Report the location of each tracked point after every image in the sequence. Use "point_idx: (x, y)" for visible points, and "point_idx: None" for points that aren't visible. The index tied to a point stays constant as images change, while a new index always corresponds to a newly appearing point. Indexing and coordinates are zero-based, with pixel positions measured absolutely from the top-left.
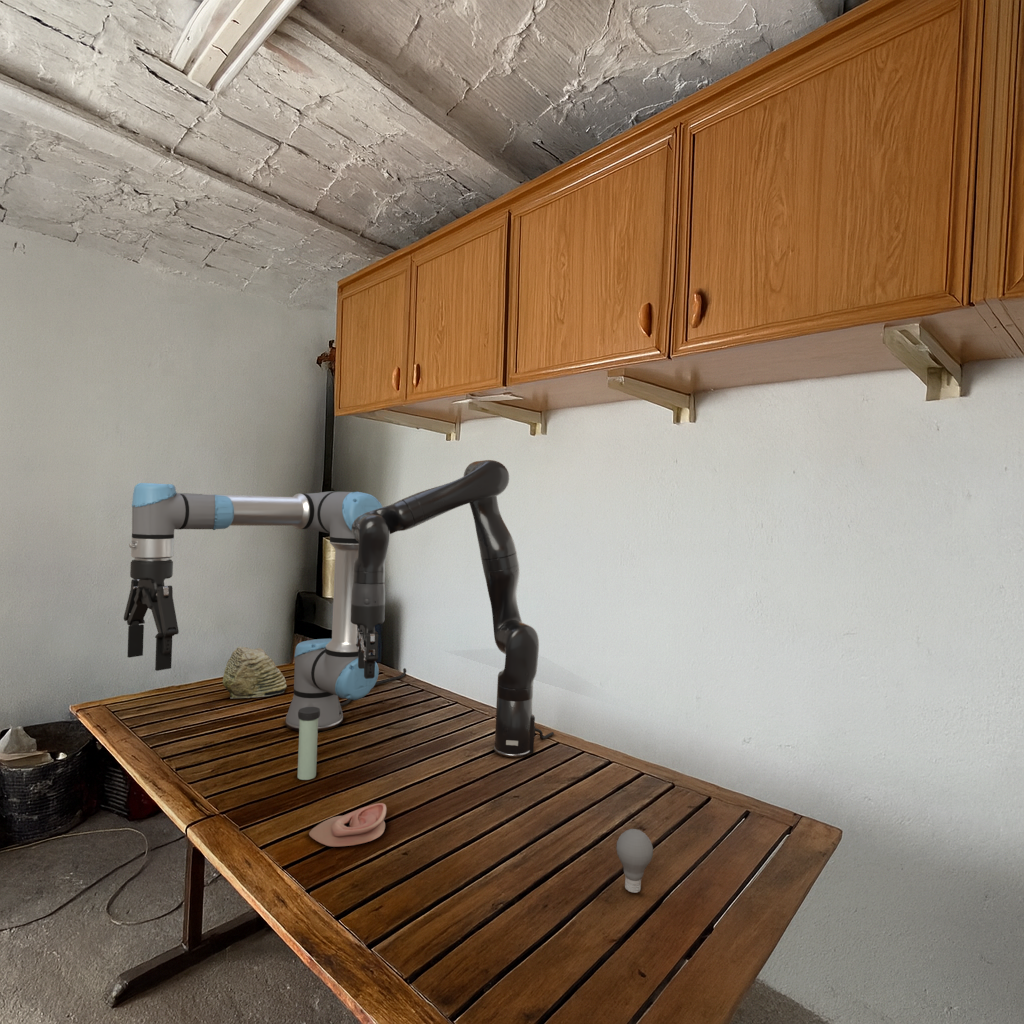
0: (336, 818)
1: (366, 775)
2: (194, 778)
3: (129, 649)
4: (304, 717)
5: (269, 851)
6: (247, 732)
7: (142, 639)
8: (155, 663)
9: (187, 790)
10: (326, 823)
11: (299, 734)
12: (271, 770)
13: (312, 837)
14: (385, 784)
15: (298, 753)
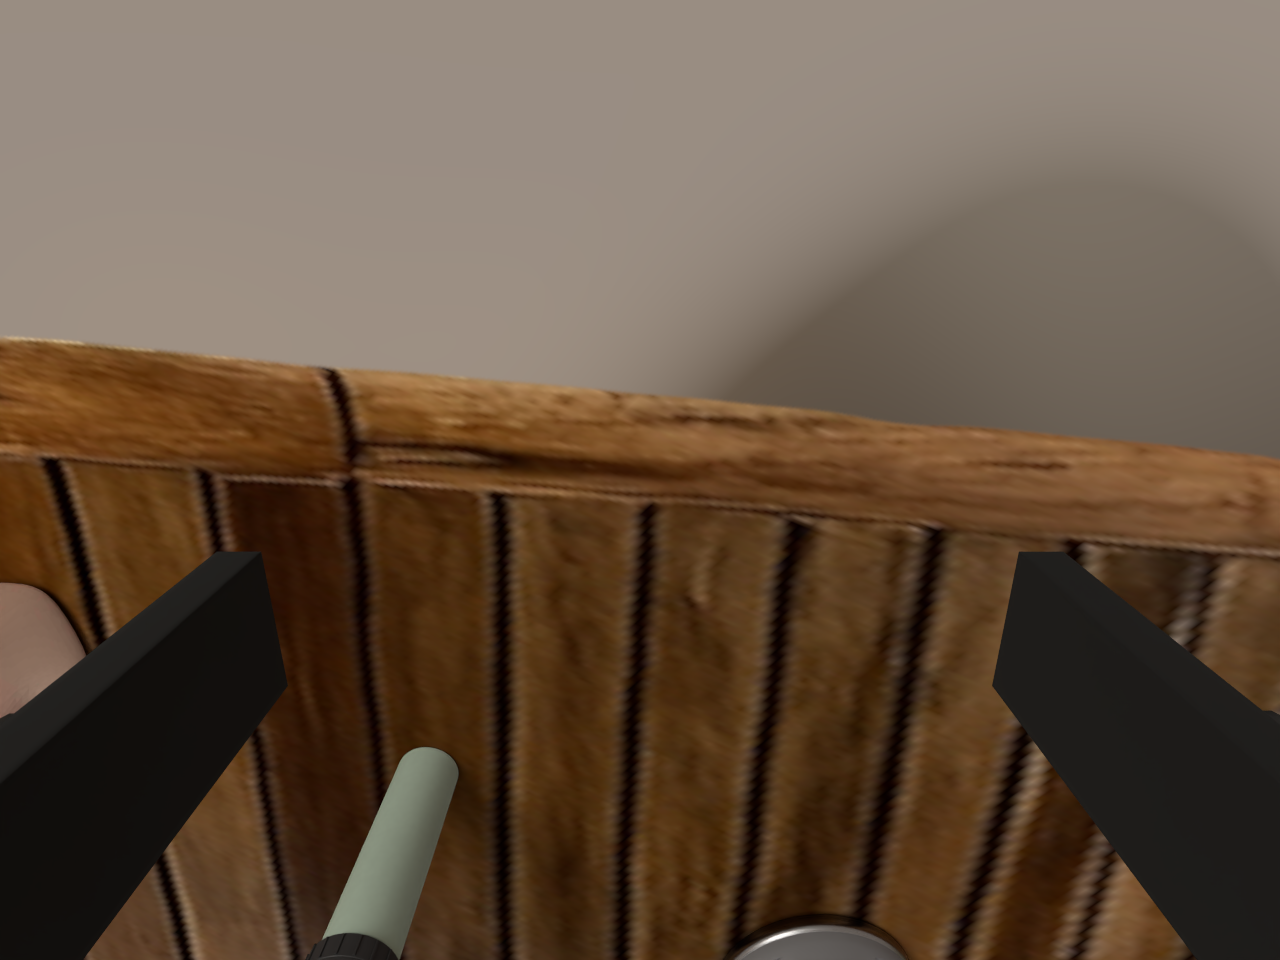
0: (6, 672)
1: (316, 876)
2: (675, 534)
3: (1073, 605)
4: (321, 949)
5: (16, 467)
6: (916, 818)
7: (1108, 828)
8: (213, 588)
9: (596, 477)
10: (5, 641)
11: (384, 874)
12: (549, 724)
13: (6, 583)
14: (224, 876)
15: (413, 812)
